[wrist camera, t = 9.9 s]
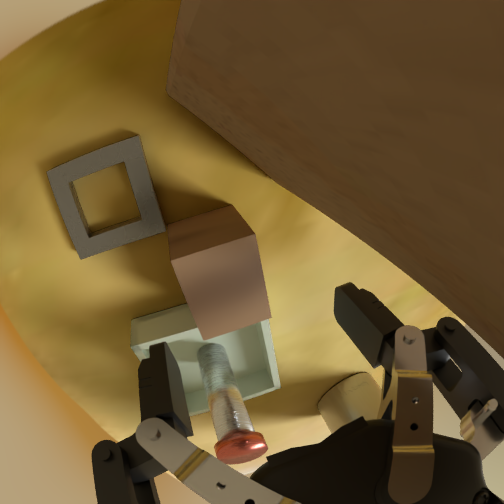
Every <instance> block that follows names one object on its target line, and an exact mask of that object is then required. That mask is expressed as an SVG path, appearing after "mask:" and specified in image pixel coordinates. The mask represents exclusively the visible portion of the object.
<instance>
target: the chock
mask: <svg viewBox="0 0 504 504" xmlns="http://www.w3.org/2000/svg"><path fill="white" fill-rule="evenodd" d="M167 230H168V241H169V251H170V260H171V263H172V266H173V268H174V271H175V274H176V276H177V279H178V281H179V284H180V286H181V289H182V291H183V294H184V296H185V299H186V301H187V303H188V306H189V308H190V311H191V313H192V315H193V318H194V320H195V322H196V325H197V327H198V329H199V332H200V334H201V336H202V338H203V341H205V340H208V339H211V338H214V337H217V336H220V335H223V334H226V333H229V332H232V331H235V330H238V329H241V328H244V327H247V326H250V325H253V324H255V323H258V322H261V321H264V320H267V319H269V318H272V317H271V312H270V306H269V301H268V296H267V291H266V286H265V281H264V275H263V270H262V265H261V260H260V255H259V250H258V245H257V240H256V235H255V233H254V232H253V230H252V229H251V228H250V226H249V225H248V224H247V223H246V221H245V220H244V219H243V218H242V216H241V215H240V214H239V213H238V211H237V210H236V209H235V207H234V206H233V205H230V206H226V207H223V208H219V209H216V210H213V211H209V212H206V213H203V214H200V215H196V216H193V217H190V218H187V219H184V220H180V221H177V222H174V223H171V224H168V225H167Z"/></svg>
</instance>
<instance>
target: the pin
mask: <svg viewBox="0 0 504 504" xmlns="http://www.w3.org/2000/svg"><path fill="white" fill-rule="evenodd" d="M196 356H197V360H198V365H199V369H200V373H201V378H202V382H203V386H204V390H205V394H206V398H207V402H208V406H209V409H210V413H211V417H212V421H213V424H214V428H215V431H216V435H217V438H218V442H217V443H216V444H215V446H214V449H215V452H216V456H217V459H218V460H220V461H222V462H223V463H225V464H240V463H244V462H248V461H251V460H254V459H256V458H258V457H260V456H262V455H263V454H264V453H265V452H266V451H267V450H268V447H267V444H266V442H265V440H264V437H263V435H262V434H261V433H259V432H255V430H254V428H253V425H252V423H251V420H250V417H249V415H248V412H247V409H246V407H245V404H244V401H243V398H242V396H241V393H240V390H239V387H238V385H237V382H236V379H235V376H234V373H233V370H232V367H231V365H230V362H229V359H228V356H227V353H226V350H225V348H224V347H223V346H222V345H220V344H216V343H211V344H207V345H204V346H202V347H201V348H200V349H199V350H198V351H197V355H196Z"/></svg>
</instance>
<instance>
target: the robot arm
mask: <svg viewBox="0 0 504 504" xmlns="http://www.w3.org/2000/svg"><path fill="white" fill-rule="evenodd" d="M334 315H335V318H336V320H337V322H338V323H339V325H340V326H341V327H342V329H343V330H344V331H345V332H346V334H347V335H348V336H349V337H350V339H351V340H352V341H353V342H354V344H355V345H356V346H357V348H358V349H359V350H360V351H361V353H362V354H363V355H364V357H365V358H366V359H367V360H368V362H369V363H370V364H371V366H372V367H373V368H376V367H378V366H380V365H382V366H383V367H384V370H383V381H382V389H381V388H380V386H379V385H378V384H377V383H376V381H375V380H374V379H373V377H372V376H371V375H370V374H369V373H359V374H356V375H353V376H351V377H349V378H347V379H345V380H343V381H342V382H340V383H339V384H337V385H336V386H334V387H333V388H332V389H330V390H329V391H328V392H327V393H326V394H325V395H324V396H323V397H322V399H321V400H320V402H319V404H318V410H319V412H320V413H321V415H322V417H323V419H324V421H325V422H326V424H327V426H328V428H329V430H330V431H331V433H332V434H331V435H330V436H329V437H327V438H326V439H325V440H323V441H322V442H320V443H318V444H313V445H307V446H301V447H295V448H290V449H287V450H285V451H282V452H279V453H276V454H273V455H270V456H267V457H266V458H267V460H268V462H266V463H265V464H263V465H262V466H261V467H259V468H258V469H257V470H256V471H255V472H254V473H253V474H252V475H251V477H250V478H248V477H246V476H244V475H243V474H241V473H239V472H238V471H236V470H234V469H233V468H231V467H229V466H228V465H226V464H225V463H223V462H222V461H220V460H218V459H217V458H215V457H214V456H212V455H211V454H209V453H208V452H206V451H204V450H201V449H200V448H198V447H197V446H196V445H194V444H193V443H191V442H190V441H189V440H188V439H187V437H189V436H193V430H192V426H191V422H190V417H189V412H188V408H187V403H186V398H185V393H184V387H183V382H182V377H181V372H180V369H179V366H178V363H177V361H176V359H175V358H174V356H173V354H172V352H171V350H170V348H169V346H168V344H167V343H166V342H161V343H157V344H153V345H150V346H149V354H150V358H146V359H142V361H141V364H140V366H139V369H138V378H139V396H140V410H141V423H140V424H139V426H138V427H137V430H136V432H135V433H134V434H133V435H132V436H130V437H128V438H126V439H124V440H122V441H120V442H118V443H115V442H113V441H111V440H103V441H100V442H99V443H97V444H96V445H95V446H94V448H93V450H92V465H93V474H94V482H95V489H96V496H97V502H98V504H160V500H159V497H158V494H157V489H156V486H155V482H154V477H156V476H158V475H160V474H162V473H164V472H166V471H168V470H169V471H170V472H171V473H172V474H174V475H175V476H176V478H177V479H178V480H180V481H181V482H182V483H183V484H185V485H186V486H187V487H188V488H190V489H191V490H192V491H194V492H195V493H197V494H198V495H200V496H201V497H202V498H204V499H205V500H206V501H208V502H209V503H211V504H504V501H503V500H502V499H500V498H499V497H498V496H496V495H495V494H493V493H492V492H491V491H490V490H489V489H488V488H487V486H486V483H485V480H484V476H483V471H482V460H483V459H484V458H485V457H486V456H487V455H488V454H489V453H490V452H492V451H493V450H494V449H495V448H496V446H498V444H500V443H501V442H502V441H503V440H504V370H503V369H502V368H501V367H500V366H499V364H498V363H497V362H496V361H495V360H494V359H493V358H492V357H491V355H490V354H489V353H488V352H487V351H486V350H485V349H484V348H483V346H482V345H481V344H480V343H479V342H478V341H477V340H476V339H475V338H474V337H473V336H472V335H471V334H470V333H469V332H468V331H467V330H466V328H465V327H464V326H463V325H462V324H461V323H460V322H459V321H458V320H456V319H454V318H452V317H444V318H441V319H440V320H439V321H438V323H437V325H436V327H434V328H430V329H425V330H420V329H418V328H417V327H415V326H410V325H406V326H405V325H404V324H403V323H402V322H401V321H400V320H399V319H398V318H397V317H396V316H395V315H394V314H393V313H392V312H391V311H390V310H389V309H388V308H387V307H386V306H384V304H383V303H382V302H381V301H379V299H378V298H377V297H376V296H375V295H374V294H373V293H371V292H369V291H367V290H365V289H363V288H362V289H360V290H359V289H358V288H357V287H356V286H355V285H354V284H353V283H351V282H349V283H346V284H343V285H341V286H338V287H336V288H335V298H334ZM450 357H451V358H452V359H453V360H454V362H455V363H456V364H457V365H458V366H459V368H460V369H461V371H462V372H461V371H460V370H459V369H458V367H457V366H456V365H455V364H454V362H453V361H452V360H451V359H450ZM433 383H434V384H435V385H436V387H437V388H438V389H439V391H440V392H441V393H442V395H443V396H444V398H445V399H446V400H447V402H448V403H449V404H450V406H451V407H452V408H453V410H454V411H455V413H456V414H457V415H458V417H459V418H460V420H461V423H460V429H461V430H460V435H461V437H463V438H464V440H459V439H455V438H451V437H447V436H443V435H439V434H435V433H433Z"/></svg>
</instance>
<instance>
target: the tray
mask: <svg viewBox="0 0 504 504" xmlns="http://www.w3.org/2000/svg"><path fill="white" fill-rule="evenodd" d="M161 342H166V343H167V344H168V346H169V348H170V350H171V352H172V354H173V356H174V358H175V359H176V361H177V363H178V366H179V369H180V372H181V377H182V382H183V387H184V393H185V398H186V403H187V408H188V412H189V417H190V416H194V415H197V414H201V413H205V412H209V411H210V409H209V406H208V402H207V398H206V394H205V390H204V386H203V382H202V378H201V373H200V369H199V365H198V360H197V356H196V355H197V351H198V350H199V349H200V348H201V347H202V346H204V345H207V344H211V343H216V344H220V345H222V346H223V347H224V348H225V350H226V353H227V356H228V359H229V362H230V365H231V367H232V370H233V373H234V376H235V379H236V382H237V385H238V387H239V390H240V393H241V396H242V398H243V401H245V400H248V399H251V398H254V397H257V396H260V395H263V394H265V393H268V392H271V391H274V390H276V389H279V388H281V385H280V380H279V374H278V369H277V363H276V358H275V352H274V347H273V341H272V336H271V330H270V325H269V319H267V320H264V321H261V322H258V323H255V324H253V325H250V326H247V327H244V328H241V329H238V330H235V331H232V332H229V333H226V334H223V335H220V336H217V337H214V338H211V339H208V340H205V341H203V338H202V336H201V334H200V332H199V329H198V327H197V325H196V322H195V320H194V318H193V315H192V313H191V311H190V308H189V306H188V303H186V304H183V305H180V306H176V307H173V308H170V309H166V310H163V311H160V312H156V313H153V314H149V315H146V316H143V317H139V318H136V319H132V320H131V344H130V347H131V348H132V350H133V351H134V353H135V354H136V356H137V357H138V359H139V360H140V362H141V361H142V359H146V358H150V354H149V346H150V345H153V344H157V343H161Z"/></svg>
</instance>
